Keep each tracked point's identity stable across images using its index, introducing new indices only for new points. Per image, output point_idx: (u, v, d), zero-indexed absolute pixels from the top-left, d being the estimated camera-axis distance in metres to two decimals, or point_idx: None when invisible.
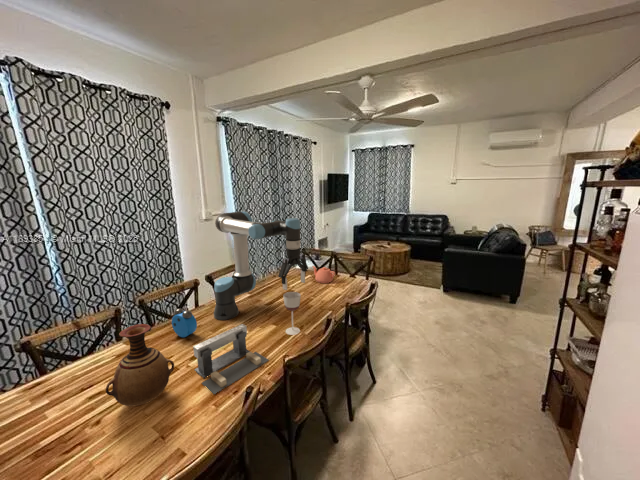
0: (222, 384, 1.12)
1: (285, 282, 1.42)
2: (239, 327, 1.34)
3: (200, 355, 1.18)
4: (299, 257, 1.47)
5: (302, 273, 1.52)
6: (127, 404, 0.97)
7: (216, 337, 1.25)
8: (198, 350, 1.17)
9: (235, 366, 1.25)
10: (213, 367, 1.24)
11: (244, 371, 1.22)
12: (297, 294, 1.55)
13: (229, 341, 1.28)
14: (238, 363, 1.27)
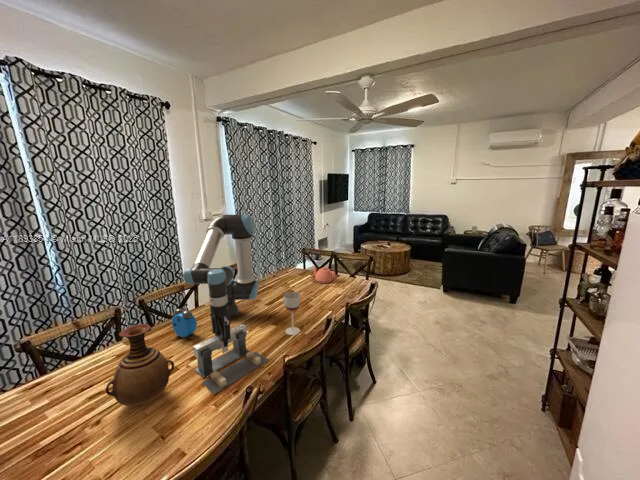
0: (222, 384, 1.12)
1: None
2: (239, 327, 1.34)
3: (200, 355, 1.18)
4: (221, 318, 1.22)
5: None
6: (127, 404, 0.97)
7: (216, 337, 1.25)
8: (198, 350, 1.17)
9: (235, 366, 1.25)
10: (213, 367, 1.24)
11: (244, 371, 1.22)
12: (297, 294, 1.55)
13: (229, 341, 1.28)
14: (238, 363, 1.27)
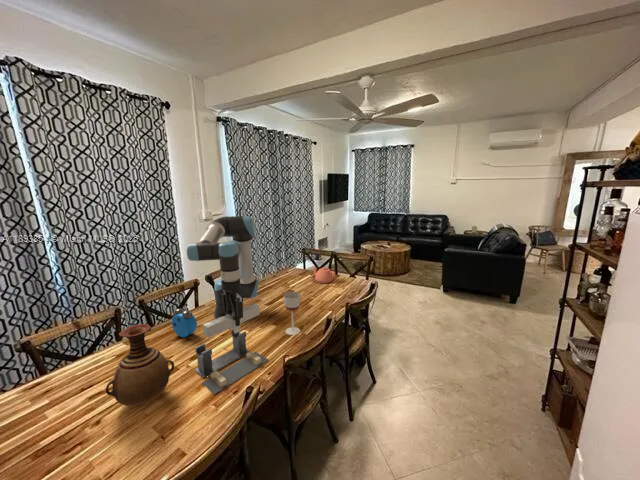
0: (222, 384, 1.12)
1: None
2: (251, 306, 1.24)
3: (210, 334, 1.08)
4: (233, 295, 1.12)
5: None
6: (127, 404, 0.97)
7: (227, 316, 1.15)
8: (208, 328, 1.07)
9: (235, 366, 1.25)
10: (213, 367, 1.24)
11: (244, 371, 1.22)
12: (297, 294, 1.55)
13: (241, 321, 1.18)
14: (238, 363, 1.27)
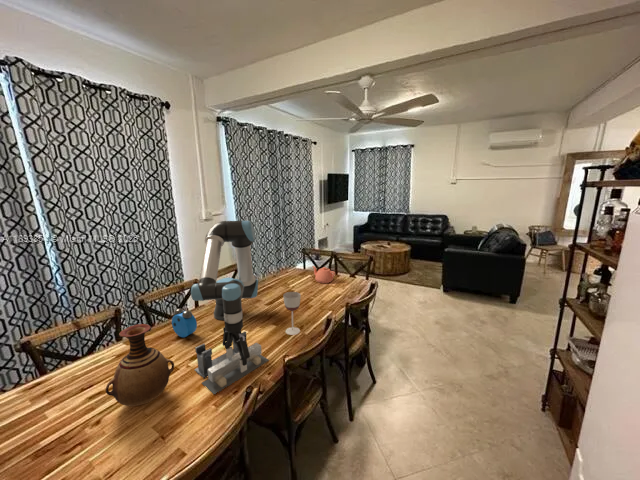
0: (222, 384, 1.12)
1: None
2: (253, 346, 1.28)
3: (215, 379, 1.12)
4: (236, 335, 1.16)
5: None
6: (127, 404, 0.97)
7: (230, 358, 1.19)
8: (213, 374, 1.11)
9: None
10: None
11: (244, 371, 1.22)
12: (297, 294, 1.55)
13: None
14: None
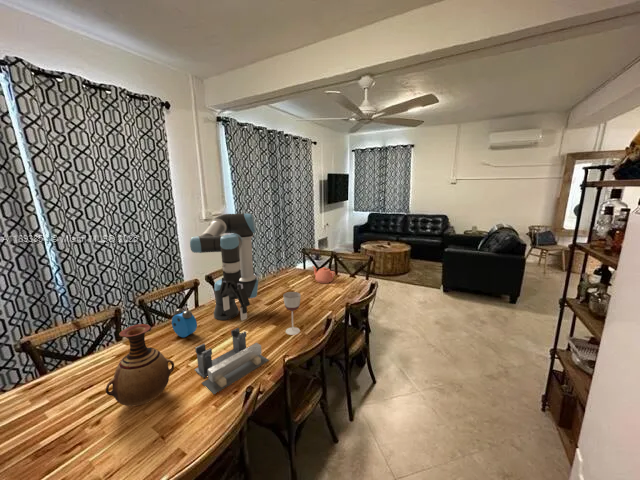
0: (222, 384, 1.12)
1: None
2: (253, 346, 1.28)
3: (215, 379, 1.12)
4: (234, 285, 1.18)
5: None
6: (127, 404, 0.97)
7: (230, 358, 1.19)
8: (213, 374, 1.11)
9: None
10: None
11: (244, 371, 1.22)
12: (297, 294, 1.55)
13: (244, 362, 1.23)
14: None
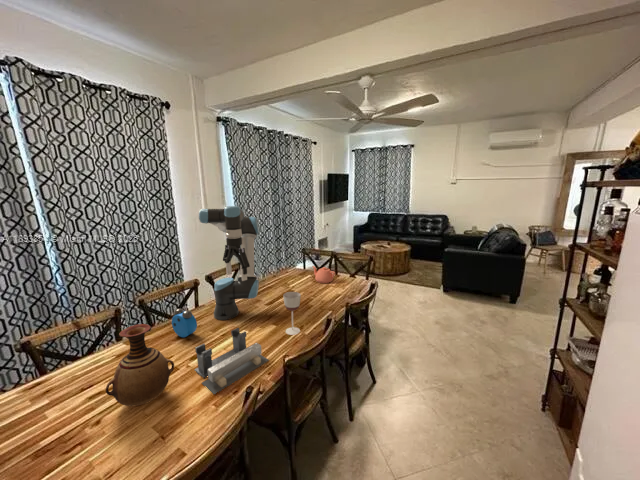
0: (222, 384, 1.12)
1: None
2: (253, 346, 1.28)
3: (215, 379, 1.12)
4: (236, 249, 1.36)
5: None
6: (127, 404, 0.97)
7: (230, 358, 1.19)
8: (213, 374, 1.11)
9: None
10: None
11: (244, 371, 1.22)
12: (297, 294, 1.55)
13: (244, 362, 1.23)
14: None
